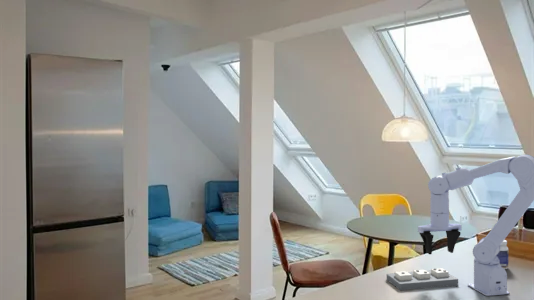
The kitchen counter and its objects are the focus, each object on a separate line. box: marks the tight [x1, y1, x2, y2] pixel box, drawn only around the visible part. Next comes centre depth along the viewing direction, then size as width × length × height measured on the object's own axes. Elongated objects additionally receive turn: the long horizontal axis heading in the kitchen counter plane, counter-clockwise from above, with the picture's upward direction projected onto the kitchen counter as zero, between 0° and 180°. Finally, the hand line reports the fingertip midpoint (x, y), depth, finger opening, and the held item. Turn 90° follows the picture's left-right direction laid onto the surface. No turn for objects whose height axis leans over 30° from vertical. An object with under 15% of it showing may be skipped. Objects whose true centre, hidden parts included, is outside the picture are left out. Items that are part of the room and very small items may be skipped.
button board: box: [386, 269, 459, 291], centre depth 147 cm, size 10×20×2 cm, turn 99°
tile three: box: [430, 267, 450, 278], centre depth 148 cm, size 4×4×2 cm
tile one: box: [394, 270, 412, 281], centre depth 146 cm, size 4×4×2 cm
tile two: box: [412, 269, 430, 279], centre depth 147 cm, size 4×4×2 cm
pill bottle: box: [497, 239, 510, 270], centre depth 160 cm, size 6×6×10 cm
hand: (439, 252), depth 148 cm, fingers open, 7 cm apart
